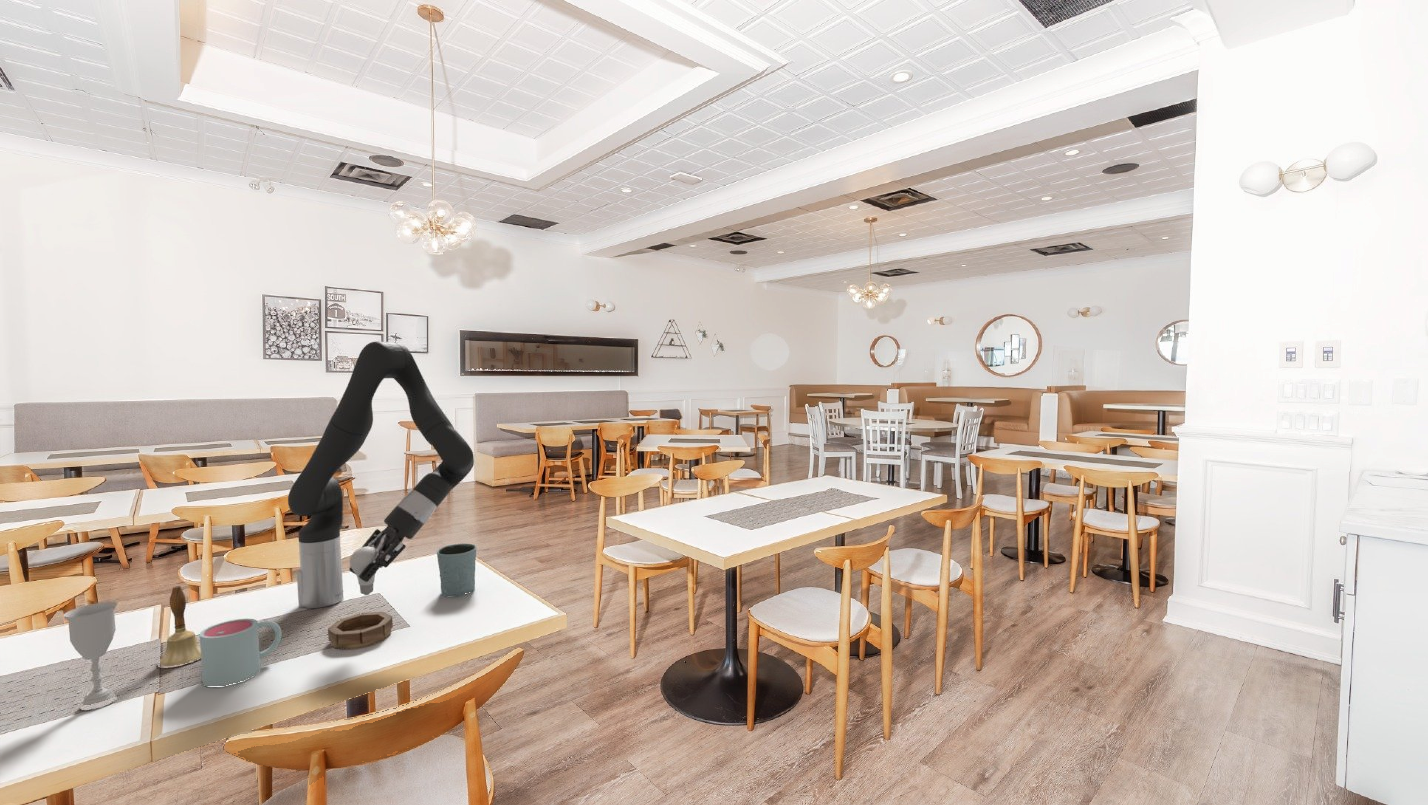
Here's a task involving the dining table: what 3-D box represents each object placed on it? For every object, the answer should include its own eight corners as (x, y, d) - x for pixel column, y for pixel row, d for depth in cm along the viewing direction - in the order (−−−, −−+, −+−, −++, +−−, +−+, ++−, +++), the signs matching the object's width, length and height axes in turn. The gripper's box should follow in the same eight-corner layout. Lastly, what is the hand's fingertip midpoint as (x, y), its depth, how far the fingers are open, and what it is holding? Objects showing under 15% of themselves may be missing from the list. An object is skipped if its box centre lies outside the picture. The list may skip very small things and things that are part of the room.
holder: (320, 651, 134) (319, 635, 134) (345, 628, 146) (345, 614, 146) (378, 647, 136) (377, 631, 136) (399, 624, 148) (398, 610, 147)
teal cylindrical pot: (465, 582, 177) (463, 541, 176) (485, 589, 171) (484, 546, 170) (431, 593, 168) (429, 550, 168) (451, 601, 162) (449, 556, 162)
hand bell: (151, 672, 126) (145, 596, 125) (164, 656, 134) (159, 584, 133) (202, 663, 130) (197, 589, 129) (212, 647, 137) (207, 577, 136)
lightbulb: (368, 601, 135) (366, 551, 134) (344, 598, 136) (342, 550, 135) (388, 591, 141) (386, 543, 140) (365, 588, 142) (363, 542, 141)
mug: (214, 692, 118) (210, 642, 117) (195, 680, 123) (191, 631, 122) (293, 662, 129) (290, 616, 129) (273, 652, 134) (270, 607, 134)
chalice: (97, 694, 118) (89, 602, 117) (135, 691, 118) (128, 600, 117) (60, 715, 111) (51, 618, 110) (100, 713, 111) (92, 616, 110)
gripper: (387, 500, 147) (333, 560, 140) (411, 510, 138) (354, 575, 130) (411, 517, 152) (360, 577, 144) (435, 528, 142) (382, 592, 134)
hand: (357, 575), depth 137 cm, fingers closed on lightbulb, 6 cm apart
